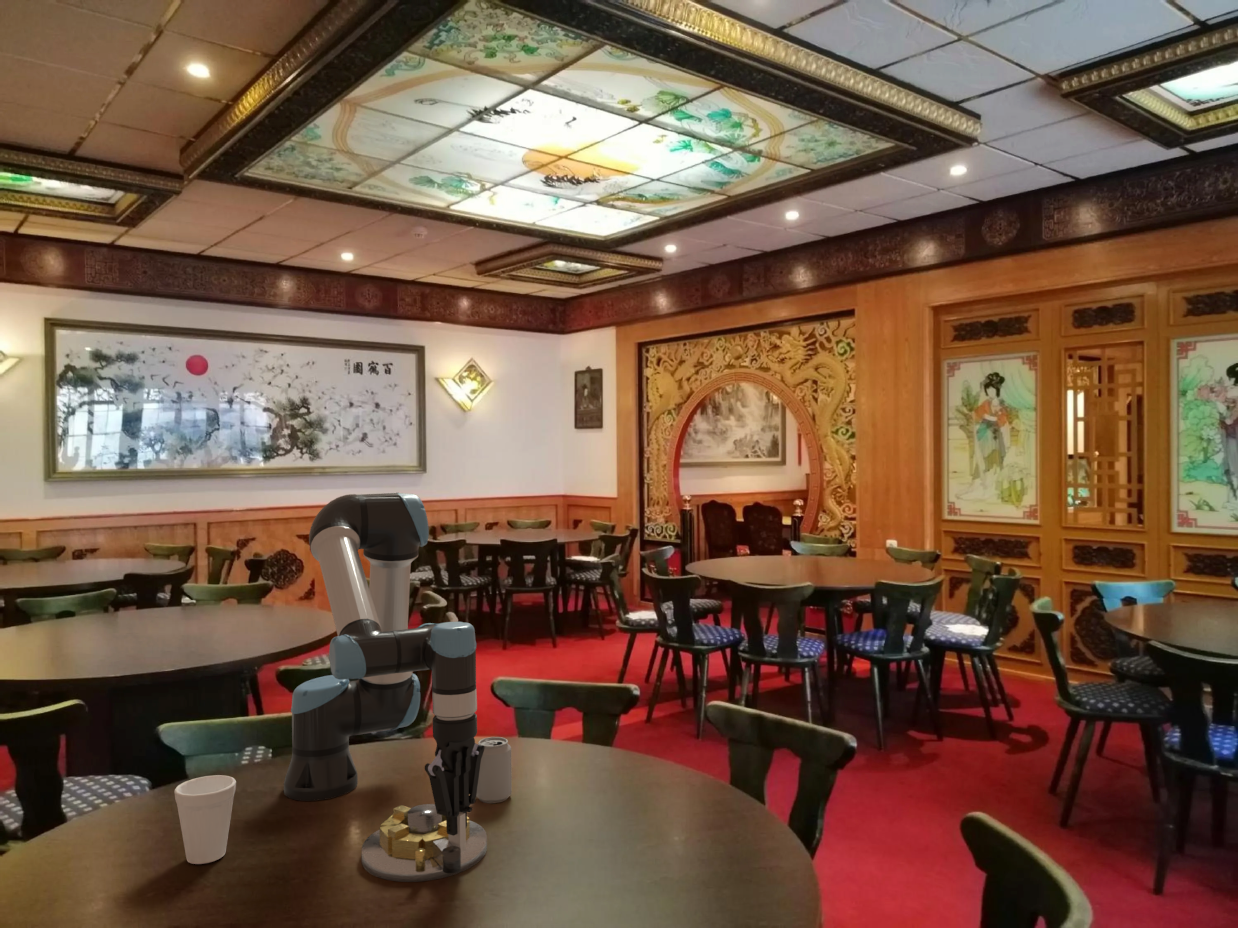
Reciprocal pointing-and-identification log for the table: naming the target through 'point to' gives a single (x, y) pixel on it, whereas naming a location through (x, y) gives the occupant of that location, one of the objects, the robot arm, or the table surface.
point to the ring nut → (420, 841)
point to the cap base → (409, 865)
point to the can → (495, 771)
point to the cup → (205, 816)
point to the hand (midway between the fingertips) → (457, 850)
